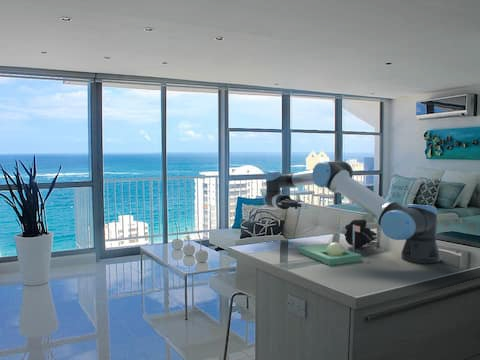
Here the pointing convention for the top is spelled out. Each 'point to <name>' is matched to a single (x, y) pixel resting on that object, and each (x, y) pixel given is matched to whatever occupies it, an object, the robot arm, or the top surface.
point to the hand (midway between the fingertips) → (306, 206)
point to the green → (321, 255)
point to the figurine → (359, 233)
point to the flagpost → (355, 228)
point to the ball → (335, 249)
